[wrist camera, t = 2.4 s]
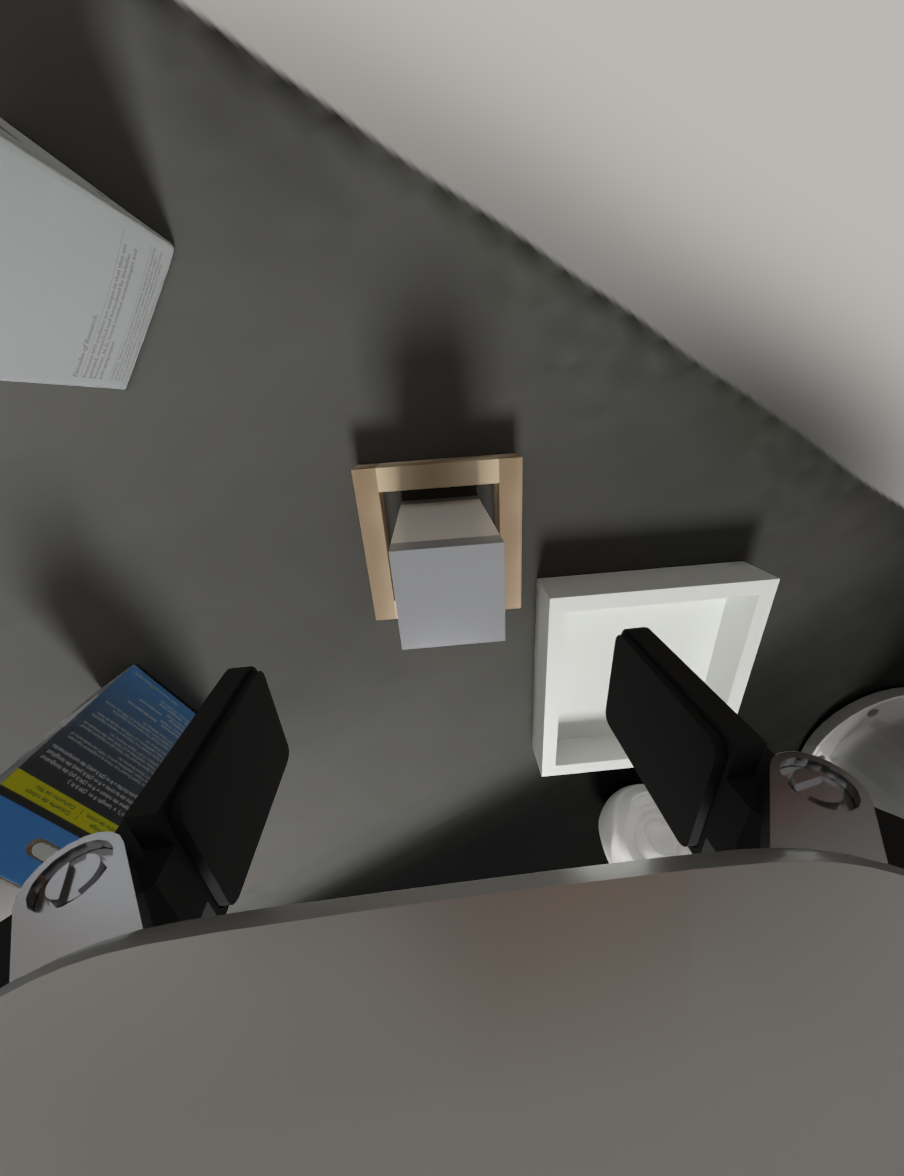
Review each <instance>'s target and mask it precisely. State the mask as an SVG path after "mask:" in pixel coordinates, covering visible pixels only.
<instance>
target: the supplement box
mask: <svg viewBox="0 0 904 1176" xmlns="http://www.w3.org/2000/svg"><path fill="white" fill-rule="evenodd" d="M173 252H174V247H173V245H172V244H171V243H170V242H169V241H168V240H166V239H165V238H163V237H162V236H160V235H159V234H158V233H156V232H155V231H153V230H152V229H151V228H149V227H148V226H146V225H145V224H144V223H142V222H141V221H140V220H138V219H137V218H135V217H134V216H133V215H131V214H130V213H129V212H127V211H126V210H125V209H123V208H122V207H120V206H119V205H118V204H116V203H115V202H114V201H112V200H111V199H110V198H108V197H107V196H106V195H104V194H103V193H102V192H100V191H99V190H98V189H96V188H95V187H94V186H92V185H91V184H89V183H88V182H87V181H85V180H84V179H83V178H81V177H80V176H79V175H77V174H76V173H75V172H73V171H72V170H71V169H69V168H68V167H67V166H65V165H64V164H62V163H61V162H60V161H58V160H57V159H56V158H54V157H53V156H52V155H50V154H49V153H48V152H46V151H45V150H44V149H42V148H41V147H39V146H38V145H37V144H35V143H34V142H33V141H31V140H30V139H29V138H27V137H26V136H25V135H23V134H22V133H21V132H19V131H18V130H16V129H15V128H14V127H12V126H11V125H10V124H8V123H7V122H6V121H4V120H3V119H2V118H1V117H0V380H2V381H15V382H31V383H44V384H60V385H73V386H85V387H102V388H115V389H123V390H124V389H126V387H127V384H128V382H129V379H130V376H131V373H132V371H133V368H134V365H135V362H136V360H137V357H138V354H139V351H140V348H141V345H142V343H143V341H144V338H145V335H146V331H147V328H148V326H149V323H150V320H151V318H152V315H153V312H154V309H155V306H156V303H157V300H158V298H159V295H160V292H161V289H162V286H163V283H164V280H165V277H166V275H167V273H168V269H169V266H170V263H171V259H172V256H173Z"/></svg>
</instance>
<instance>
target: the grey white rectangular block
mask: <svg viewBox="0 0 904 1176" xmlns="http://www.w3.org/2000/svg"><path fill="white" fill-rule="evenodd" d="M389 559H390V566H391V573H392V580H393V587H394V594H395V602H396V609H397V616H398V623H399V630H400V637H401V644H402V650H405V649H416V648H427V647H439V646H450V645H461V644H473V643H484V642H495V641H505V555H504V541H503V539H502V537H501V536H500V534H499V532H498V531H497V529H496V527H495V525H494V524H493V522H492V520H491V519H490V517H489V515H488V513H487V512H486V510H485V508H484V507H483V505H482V503H481V501H480V500H479V498H478V496H477V495H476V496H463V497H450V498H437V499H424V500H411V501H402V502H401V506H400V510H399V513H398V517H397V521H396V525H395V529H394V533H393V536H392V540H391V544H390V548H389Z"/></svg>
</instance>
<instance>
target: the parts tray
mask: <svg viewBox="0 0 904 1176" xmlns="http://www.w3.org/2000/svg"><path fill="white" fill-rule="evenodd" d="M779 580H780V579H779V578H777V577H775V576H773V575H771V574H769V573H767V572H765V571H763V570H761V569H759V568H757V567H754V566H752V565H750V564H748V563H746V562H744V561H739V562H727V563H715V564H703V565H691V566H679V567H668V568H656V569H644V570H632V571H620V572H608V573H597V574H585V575H573V576H561V577H549V578H537V589H536V623H535V656H534V690H533V724H532V747H533V751H534V754H535V757H536V760H537V763H538V767H539V770H540V773H541V776H542V777H543V776H553V775H564V774H574V773H584V772H594V771H604V770H614V769H624V768H634V767H633V765H632V763H631V762H630V760H629V758H628V757H627V755H626V753H625V752H624V750H623V748H622V747H621V745H620V743H619V742H618V740H617V738H616V737H615V735H614V733H613V732H612V730H611V728H610V727H609V725H608V722H607V719H606V704H607V697H608V689H609V682H610V675H611V668H612V661H613V653H614V646H615V640H616V637H617V636H618V635H621V633H622V631H623V630H624V629H630V628H640V627H647V628H649V629H650V630H651V631H652V632H653V633H654V634H655V635H656V636H657V637H658V638H659V639H660V640H661V641H662V642H663V643H665V644H666V645H667V646H668V647H669V648H670V649H671V650H672V651H673V652H674V653H675V654H676V655H677V656H678V657H679V658H680V659H681V660H682V661H683V662H684V663H685V664H686V665H687V666H688V667H689V668H690V669H691V670H692V671H693V672H694V673H695V674H696V675H697V676H698V677H699V678H700V679H702V680H703V681H704V682H705V683H706V684H707V685H708V686H709V687H710V688H711V689H712V690H713V691H714V692H715V693H716V694H717V695H718V696H719V697H720V698H721V699H722V700H723V701H724V702H725V703H726V704H727V705H728V706H729V707H730V708H731V709H732V710H733V711H734V712H735V713H736V714H737V713H738V710H739V707H740V704H741V701H742V698H743V694H744V691H745V688H746V685H747V682H748V679H749V675H750V672H751V669H752V666H753V663H754V660H755V656H756V653H757V650H758V647H759V644H760V641H761V637H762V634H763V631H764V628H765V625H766V622H767V618H768V615H769V612H770V609H771V606H772V603H773V599H774V596H775V593H776V590H777V587H778V584H779Z"/></svg>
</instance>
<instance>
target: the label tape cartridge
mask: <svg viewBox="0 0 904 1176" xmlns="http://www.w3.org/2000/svg"><path fill="white" fill-rule="evenodd" d="M194 716H195V713H194V712H193V711H192V710H190V709H189V708H188V707H187V706H185V705H184V704H183V703H182V702H180V701H179V700H178V699H177V698H175V697H174V696H173V695H172V694H170V693H169V692H168V691H167V690H165V689H164V688H163V687H162V686H160V685H159V684H158V683H157V682H155V681H154V680H153V679H152V678H150V677H149V676H148V675H147V674H145V673H144V672H143V671H142V670H141V669H139V668H138V667H137V666H136V665H132V666H130V667H129V668H127V669H126V670H125V671H123V672H122V673H121V674H120V675H118V676H117V677H115V678H114V679H113V680H111V681H110V682H109V683H107V684H106V685H105V686H103V687H102V688H101V689H100V690H98V691H97V692H96V693H95V694H93V695H92V696H91V697H90V698H88V699H87V700H86V701H85V702H84V703H83V704H81V705H80V706H79V707H78V708H77V709H76V710H74V711H73V712H72V713H71V714H70V715H69V716H67V717H66V718H65V719H64V720H63V721H62V722H61V723H59V724H58V725H57V726H56V727H55V728H54V729H53V730H52V731H50V732H49V733H48V734H47V735H46V736H45V737H44V738H42V739H41V740H40V741H39V742H38V743H37V744H36V745H35V746H33V747H32V748H31V749H30V750H29V751H28V752H27V753H25V754H24V755H23V756H22V757H21V758H20V759H19V760H17V761H16V762H15V763H14V764H13V765H12V766H11V767H9V768H8V769H7V770H6V771H5V772H4V773H3V774H2V775H0V879H2V880H4V881H6V882H8V883H10V884H12V885H14V886H16V887H18V888H20V889H21V887H22V886H23V884H24V883H25V881H26V880H27V879H28V878H29V877H30V876H31V875H32V873H33V872H34V871H35V870H36V869H37V868H38V867H39V866H40V865H41V864H43V863H44V861H41V860H39V859H38V858H37V857H35V856H33V854H32V852H31V850H32V847H33V846H34V845H35V844H38V843H43V844H45V845H48V846H50V847H51V848H53V849H55V850H57V851H59V850H61V849H62V848H64V847H65V846H67V845H68V844H70V843H72V842H74V841H76V840H78V839H80V838H82V837H84V836H87V835H91V834H94V833H98V832H115V831H116V830H117V828H118V827H119V825H120V824H121V822H122V821H123V816H124V815H125V813H126V812H127V811H128V809H129V808H130V806H131V805H132V803H133V802H134V801H135V799H136V798H137V796H138V795H139V794H140V792H141V791H142V789H143V788H144V786H145V785H146V784H147V782H148V781H149V779H150V778H151V777H152V775H153V774H154V772H155V771H156V769H157V768H158V767H159V765H160V764H161V762H162V761H163V760H164V758H165V757H166V755H167V754H168V753H169V751H170V750H171V748H172V747H173V745H174V744H175V743H176V741H177V740H178V738H179V737H180V736H181V734H182V733H183V731H184V730H185V728H186V727H187V726H188V724H189V723H190V721H191V720H192V719H193V717H194Z"/></svg>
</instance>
